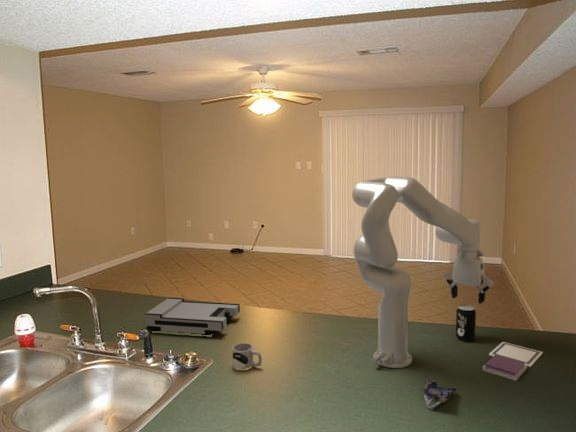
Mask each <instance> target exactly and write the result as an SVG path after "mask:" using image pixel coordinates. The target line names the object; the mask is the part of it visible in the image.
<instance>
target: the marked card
mask: <svg viewBox="0 0 576 432" xmlns="http://www.w3.org/2000/svg"><path fill="white" fill-rule="evenodd" d="M543 353H544V351H540V350H536V349H532V348H528V347H525V346H521V345H516V344H512V343H509V342H505V341H502V342H501V343H499V345H497V346H496V347H495V348H494V349H493V350H492V351H491V352H489V353H488V356H491V357H494V356H495V355H499V356H503V357H506V358H510V359H513V360H517V361H521V362H524V363H525V364H524V365H527V367H529V368H531V367H532V366H533V365H534V364H535V363H536V362H537V361H538V359H540V357H541V356H542V355H543Z"/></svg>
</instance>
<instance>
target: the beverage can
mask: <svg viewBox="0 0 576 432" xmlns="http://www.w3.org/2000/svg"><path fill="white" fill-rule="evenodd" d="M475 308H476V307H475V306H473V305H470V304H459V305H458V306H457V309H456V314H455V315H456V316H455V317H456V319H455V337H456V338H457V340H459V341H460V342H466V343H469V342H470V343H471V342H473V341H474V340H475V338H476V324H477V323H476V321H477V320H476V315H477V312H476V309H475Z"/></svg>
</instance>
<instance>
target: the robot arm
mask: <svg viewBox="0 0 576 432" xmlns="http://www.w3.org/2000/svg"><path fill="white" fill-rule="evenodd" d="M351 193H352V195H351V196H352V200H353V202H354V203H355V204H356V205H357V206H358V207H360V208H361V207H363V208H366V210H365V212H364V214H363V217H362V218H361V219H362V220H361V232H362V235H360V236H358V237H357V239H356V240H355V242H354V245H353V256H354V259H355V261H356V265H357V267H358V270H359V273H360V276H361V278H362V280H363V281H364V282H363V283H364V284H365V285H366V286H367V287H368V288H370V289H371V290H374V291H377V292H378V293H380V294H381V295H382V297H381V299H380V300H379V303H378V307H377V317H378V318H377V321H378V322H377V325H378V326H377V328H378V329H377V345H378V346H377V350H376V351H375V352H374V353H373V357H371V358H370V359H371V362H372V363H373V364H378V365H379V366H382V367H385V368H389V369H400V368H401V369H403V368H406V367H408V366H410V365H411V364H412V363H413V357H412V355H411V354H410V353H409V352H408V339H409V337H408V332H409V331H408V330H409V328H408V326H409V325H408V324H409V323H408V322H409V321H408V319H409V317H408V314H409V298H410V293H411V290H412V279H411V277H410V274H408V272H407V271H405V270H403V269H401V268H399V267H396V266H395V265H396V264H397V262H398V259H399V258H398V257H399V254H398V250H397V246H396V243H395V241H394V237H393V235H392V231H391V227H390V223H389V222H390V221H389V220H390V216H391V213H392V212H393V210H394V208H395V207H396V204H397V203H400V204H402V205H403V206H405V208H407V209H408V210H409V211H410V212H412V214H413V215H414V216H416V217H417V218H418V219H419V220H420V221H422V222H424V223H426V224H428V225H431V226H433V227H435V236H436V238H437V239H438V240H440V241H442V242H444V243H449V244H453V245H456V247H457V248H456V249H457V250H456V256H455V258H454V261H453V262H454V263H453V268H452V271H449V272H446V273H444V275H443V276H444V278H445V280H446V283H447V284H448V285H449V287H450V289H451V290H450V295H451V298H452V299H455V298H457V297H458V290H459V289H458V285H463V286H469V287H474V288H477V290H478V291H479V292H478V298H477V299H478V304H480V305H481V304H482V303H484V302H485V301H486V292H487V291H488V290H490V288H492V285H493V284H494V281H493V280H492V279H490V278H488V277H487V276H486V275H485V265H484V260H483V258H482V257H484V255H485V253H484V252H481V222H480V221H479V220H477V219H474V218H467V217H466V216H464V215H463V213H462V214H461V213H460V212H459V211H457V210H455V209H454V208H452V207H450V206H449V205H447V204H444V203H443V202H442V201H439V199H437V198H436V197H435V196H434V195H433V194H432V193H431V191H429V190H428V189H426V187H424V186H423V185H422V184H421V182H419V181H418V180H417V179H415V178H414V177H410V176H398V175H397V176H396V175H392V176H385V177H379V178H373V179H366V180H362V181H359V182H358V183H357V184H356V185H355V186H354V187H353V190H352V192H351ZM451 276H452V278H451ZM485 283H486V285H484V284H485Z"/></svg>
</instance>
